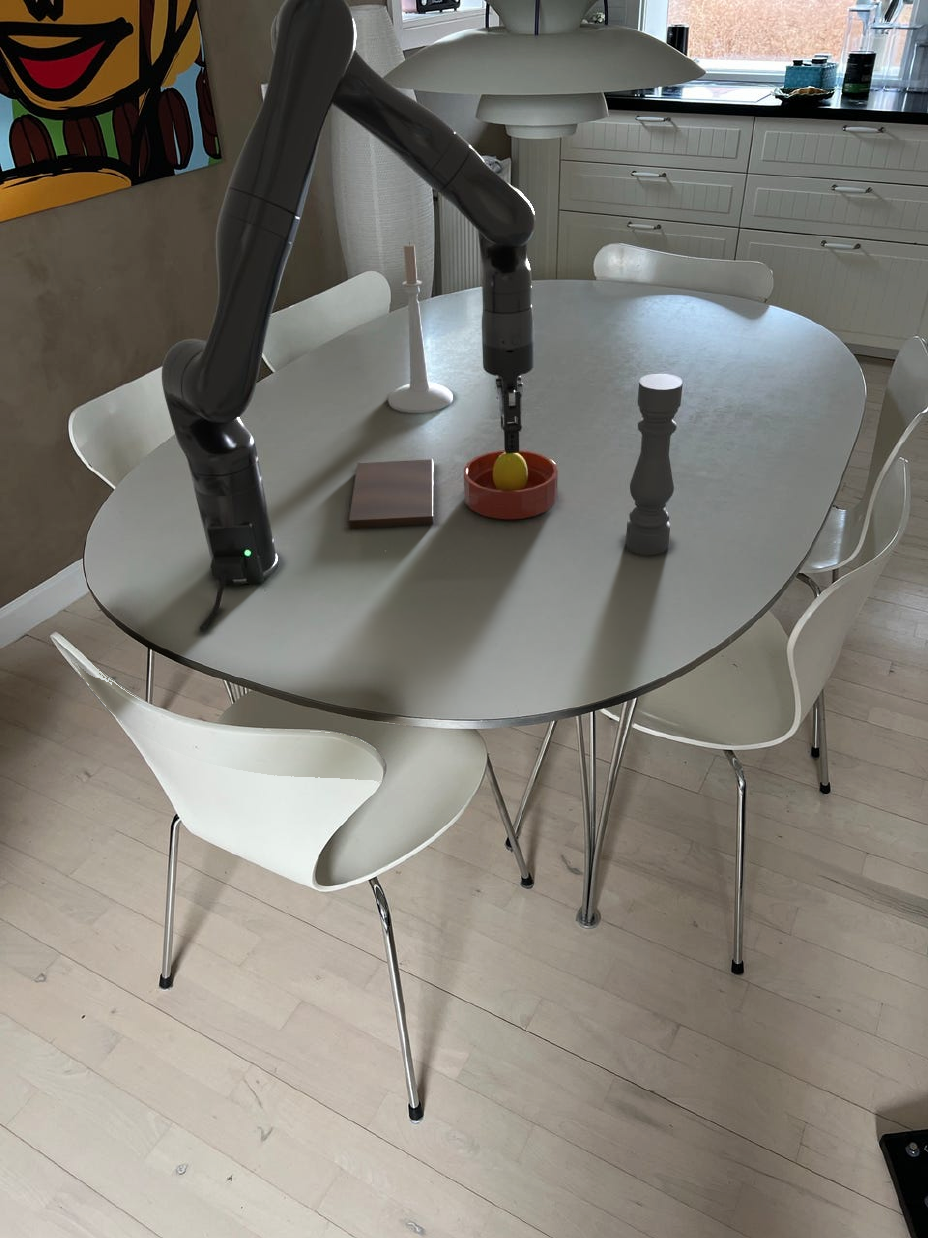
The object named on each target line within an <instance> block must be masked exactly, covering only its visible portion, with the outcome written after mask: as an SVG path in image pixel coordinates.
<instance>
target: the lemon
mask: <svg viewBox="0 0 928 1238" xmlns="http://www.w3.org/2000/svg"><path fill="white" fill-rule="evenodd" d="M527 479H528V471H527V465H526V462H525V460H524V459H523V457H522V456H521V455H519V454H518V453H509V454H507V453H503V454H501V455H500V456H499V457H498V458H497V460H496V461H495V464H494V468H493V480H494V483H495V486H496V488H497V489H498V490H503V491H513V490H523V489H524V487H525V485H526V483H527Z"/></svg>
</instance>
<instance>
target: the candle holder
mask: <svg viewBox="0 0 928 1238" xmlns="http://www.w3.org/2000/svg"><path fill="white" fill-rule="evenodd" d="M683 384H684V381H683V379H681V378H680V376H676V375H673V374H669V373H651V374H646V375H644V376H642V377H640V379H639V380H638V391H637V406H638V409H639V410H638V411H639V413H640V414H641V417H642V418H641V419H640V420H639V421H638V422H637V430H638V431H639V432H640V434H641V441H640V443H641V444H640V452H639V455H638V459H637V462H636V465H635V468H634V471H633V474H632V477H631V480H630V482H629V490H630V491H629V492H630V496H631V498H632V499H633V500H634V507H633V509H632V510H631V511H630V512H629V514H628V516H629V520H628V521H627V523H626V534H625V535H626V536H625V547H626V548H627V549H628V551H630V552H632V553H634V554H636V555H641V556H656V555H661V554H662V553H664V552H666V551H667V549H668V548H669V543H670V542H669V541H670V534H671V533H670V532H671V525H670V522H669V521H670V513H669V512H668V511H667V509H666V508H665V507H667V503H668V502H669V500H670V499H671V498H672V496H673V494H674V492H675V491H674V490H675V485H674V479H673V473H672V467H671V460H670V446H671V436H672V435H673V434H674V433H675V432H676V430H677V429H678V428H677V427H678V425H677V422H676V421H674V420H673V419H674V418H675V416H676V415H677V413H678V411H679V408H680V407H681V406H682V405H681V403H682V393H683Z"/></svg>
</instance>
